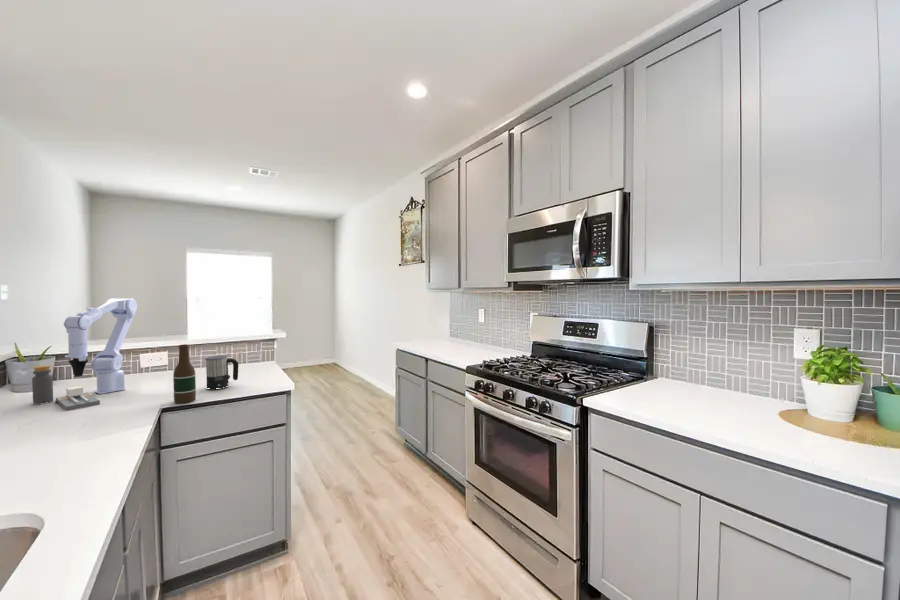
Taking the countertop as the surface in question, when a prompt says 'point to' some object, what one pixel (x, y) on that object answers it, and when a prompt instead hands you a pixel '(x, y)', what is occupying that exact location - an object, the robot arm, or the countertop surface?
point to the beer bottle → (184, 378)
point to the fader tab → (74, 391)
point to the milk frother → (219, 371)
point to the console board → (77, 401)
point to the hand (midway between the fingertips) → (78, 376)
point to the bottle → (42, 385)
